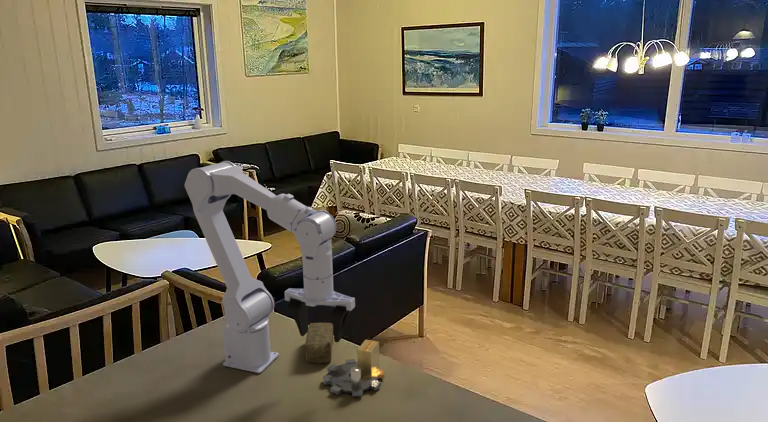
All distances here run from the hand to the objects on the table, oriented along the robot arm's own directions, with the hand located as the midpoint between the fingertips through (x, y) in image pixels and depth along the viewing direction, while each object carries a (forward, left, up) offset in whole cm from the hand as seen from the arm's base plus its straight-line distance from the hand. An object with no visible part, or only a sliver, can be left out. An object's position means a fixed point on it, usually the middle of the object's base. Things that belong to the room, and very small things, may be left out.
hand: (321, 336), depth 110 cm
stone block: (-6, +10, -10) cm, 16 cm away
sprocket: (+6, +2, -10) cm, 12 cm away
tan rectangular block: (+9, +4, -9) cm, 13 cm away
